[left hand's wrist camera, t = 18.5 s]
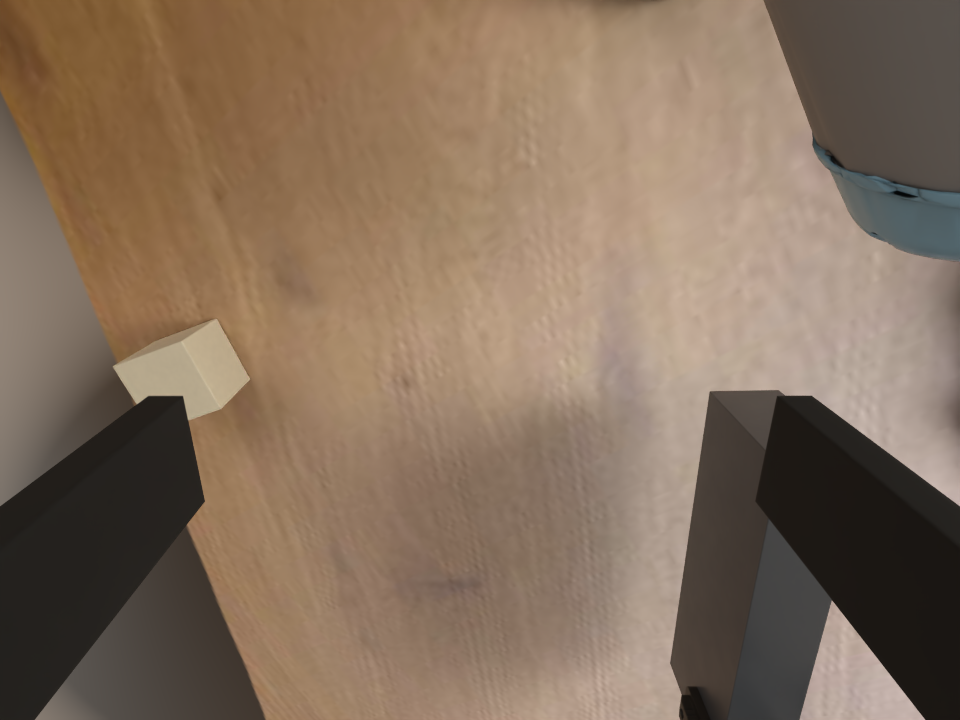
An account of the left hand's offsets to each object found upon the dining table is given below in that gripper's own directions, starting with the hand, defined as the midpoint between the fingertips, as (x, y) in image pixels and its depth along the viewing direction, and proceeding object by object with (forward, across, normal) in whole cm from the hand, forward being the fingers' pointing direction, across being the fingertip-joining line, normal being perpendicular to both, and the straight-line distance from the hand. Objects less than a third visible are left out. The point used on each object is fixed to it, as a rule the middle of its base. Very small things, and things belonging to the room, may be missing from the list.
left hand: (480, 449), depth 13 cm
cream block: (+27, -20, -8) cm, 34 cm away
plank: (+22, +17, -20) cm, 35 cm away
